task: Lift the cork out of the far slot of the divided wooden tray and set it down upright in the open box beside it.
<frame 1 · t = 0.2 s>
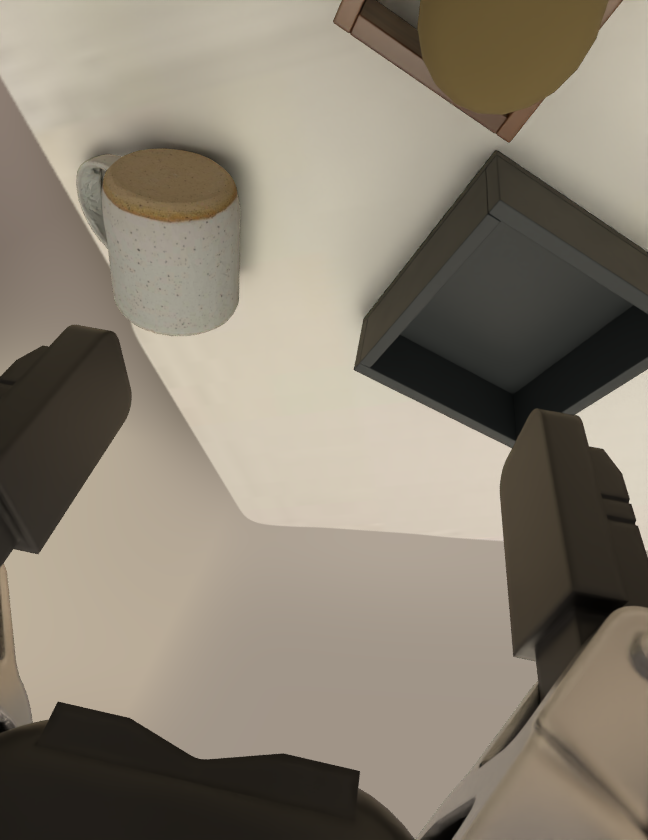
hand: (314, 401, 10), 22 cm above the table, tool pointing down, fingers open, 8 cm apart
ceramic mug: (176, 207, 32), on the table
open box: (506, 299, 33), on the table
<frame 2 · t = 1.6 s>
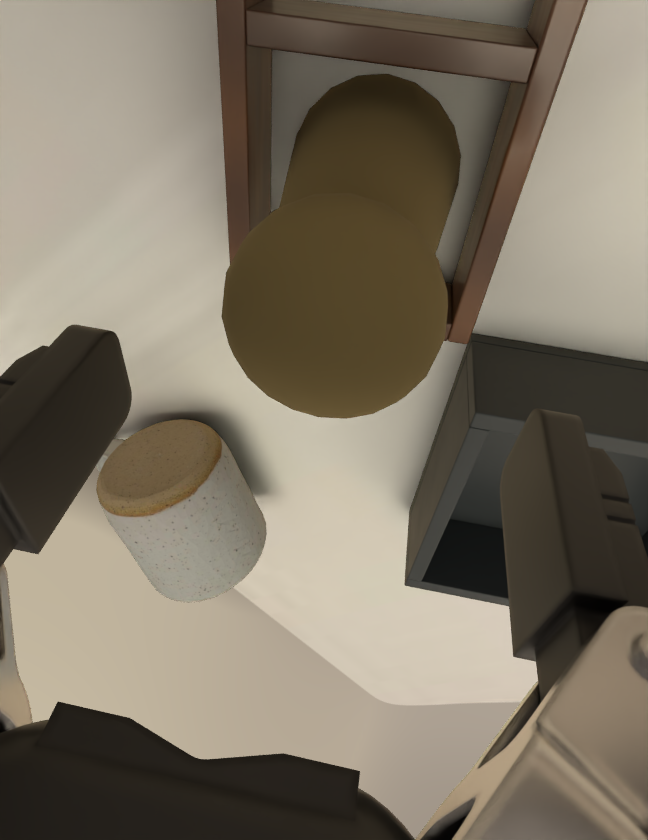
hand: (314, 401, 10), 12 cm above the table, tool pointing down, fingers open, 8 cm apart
divided wooden tray: (395, 28, 16), on the table
ceramic mug: (189, 458, 33), on the table
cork: (374, 170, 19), resting in divided wooden tray
open box: (564, 460, 27), on the table
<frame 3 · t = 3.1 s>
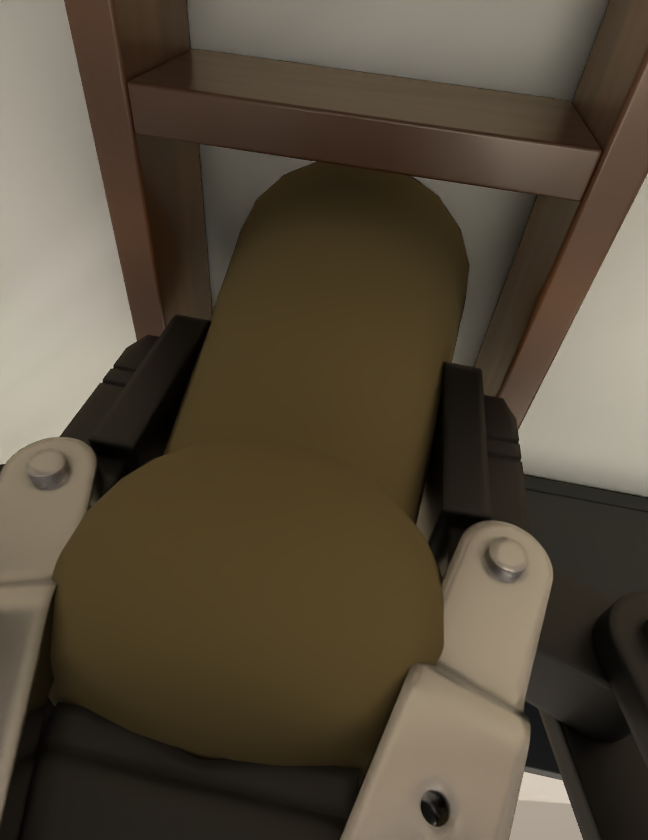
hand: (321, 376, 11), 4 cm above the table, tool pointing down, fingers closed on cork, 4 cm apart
divided wooden tray: (373, 96, 10), on the table
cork: (350, 278, 14), resting in divided wooden tray, touching gripper
open box: (594, 600, 22), on the table
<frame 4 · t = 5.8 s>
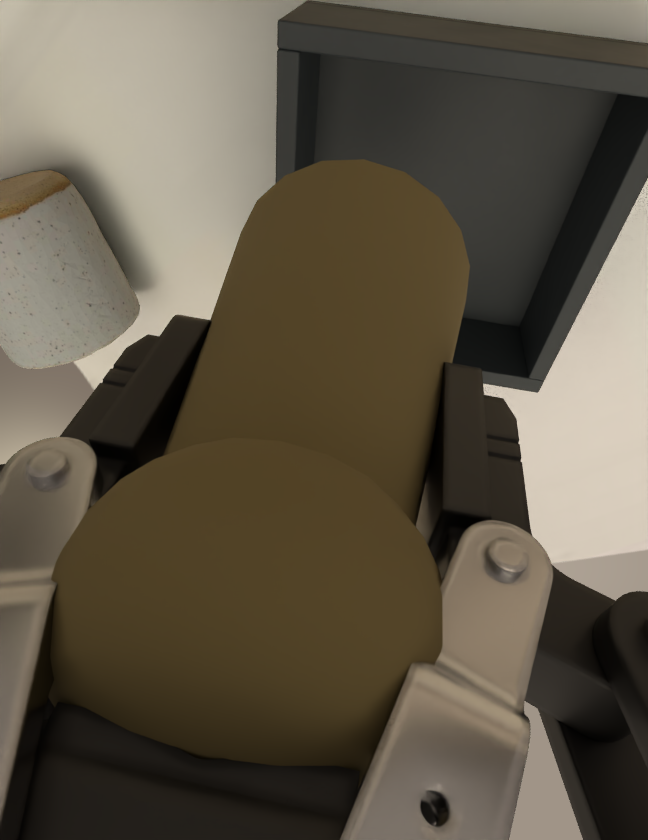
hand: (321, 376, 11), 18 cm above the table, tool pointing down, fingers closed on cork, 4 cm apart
ceramic mug: (61, 244, 31), on the table
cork: (350, 278, 14), point 14 cm above the table, touching gripper
open box: (436, 196, 25), on the table
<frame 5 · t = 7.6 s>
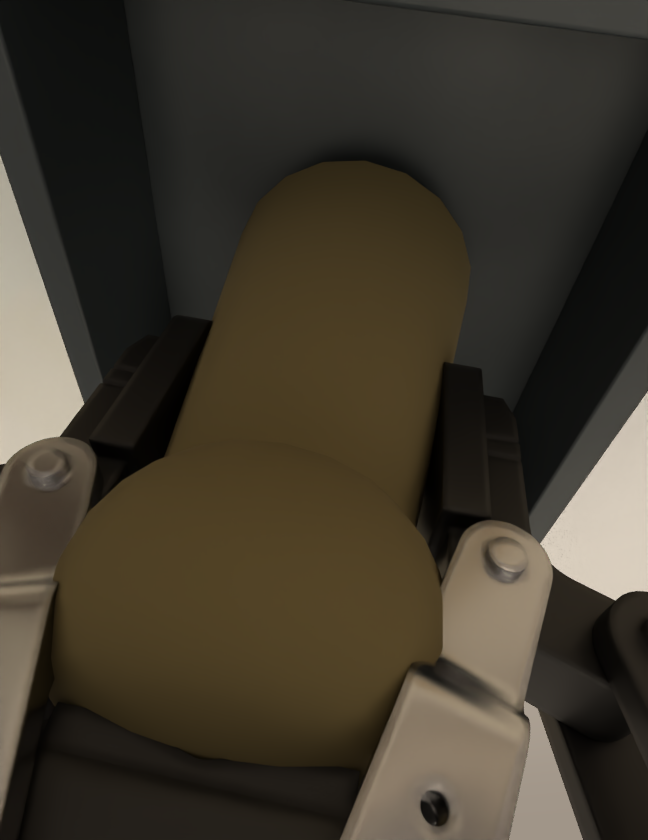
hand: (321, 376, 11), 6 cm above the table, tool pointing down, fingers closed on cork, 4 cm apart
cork: (351, 279, 14), point 2 cm above the table, touching gripper
open box: (361, 244, 15), on the table
when the fingers open (5 cm above the table, at t = 8.6 s): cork stays where it is, resting on open box.
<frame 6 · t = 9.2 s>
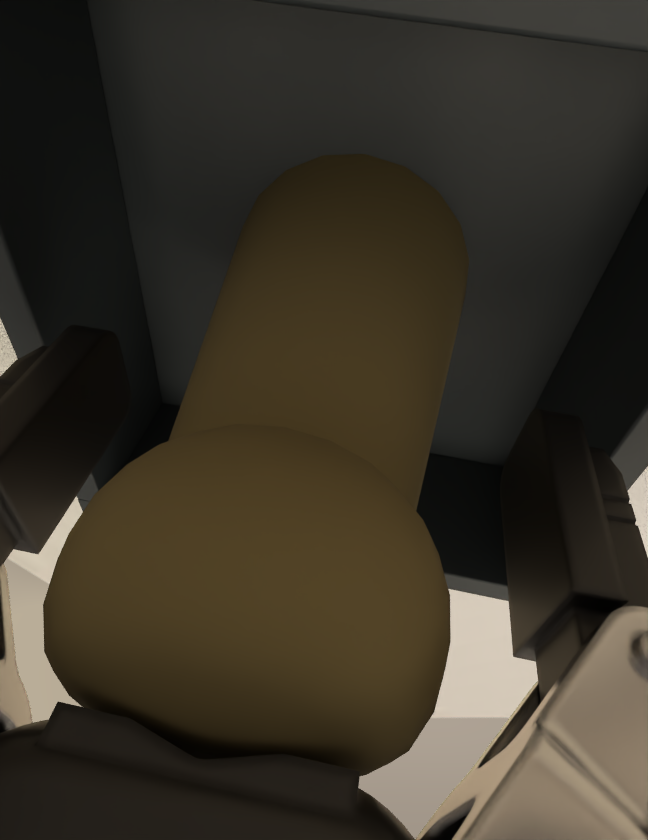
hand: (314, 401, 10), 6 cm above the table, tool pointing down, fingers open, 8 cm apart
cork: (351, 272, 14), resting on open box
open box: (353, 267, 14), on the table
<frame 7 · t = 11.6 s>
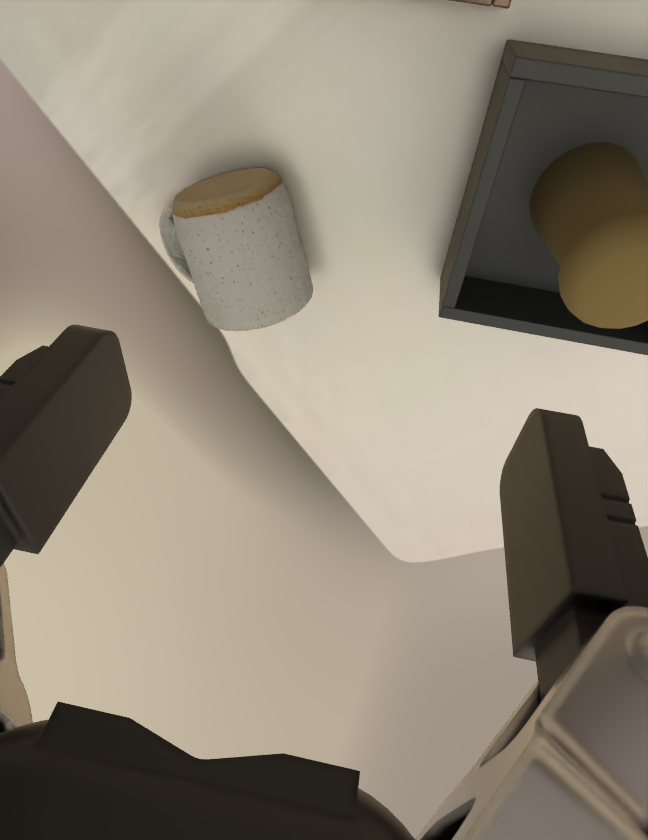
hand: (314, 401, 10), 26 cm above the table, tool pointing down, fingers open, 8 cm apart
ceramic mug: (243, 231, 36), on the table
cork: (583, 197, 30), resting on open box
open box: (582, 195, 31), on the table
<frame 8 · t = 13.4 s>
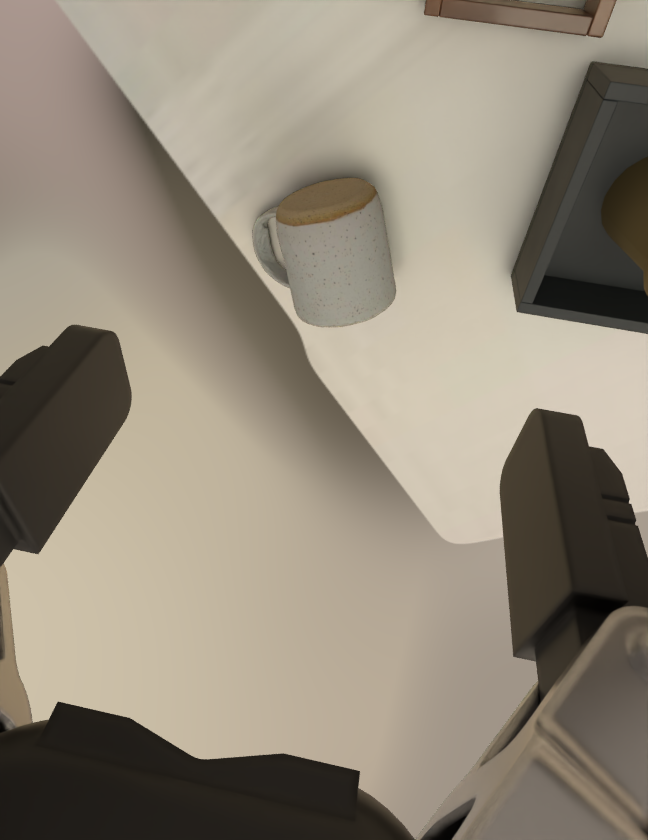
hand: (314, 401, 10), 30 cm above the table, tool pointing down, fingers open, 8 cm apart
ceramic mug: (327, 235, 40), on the table
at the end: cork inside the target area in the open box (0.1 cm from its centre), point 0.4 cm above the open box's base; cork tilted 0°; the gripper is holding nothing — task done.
